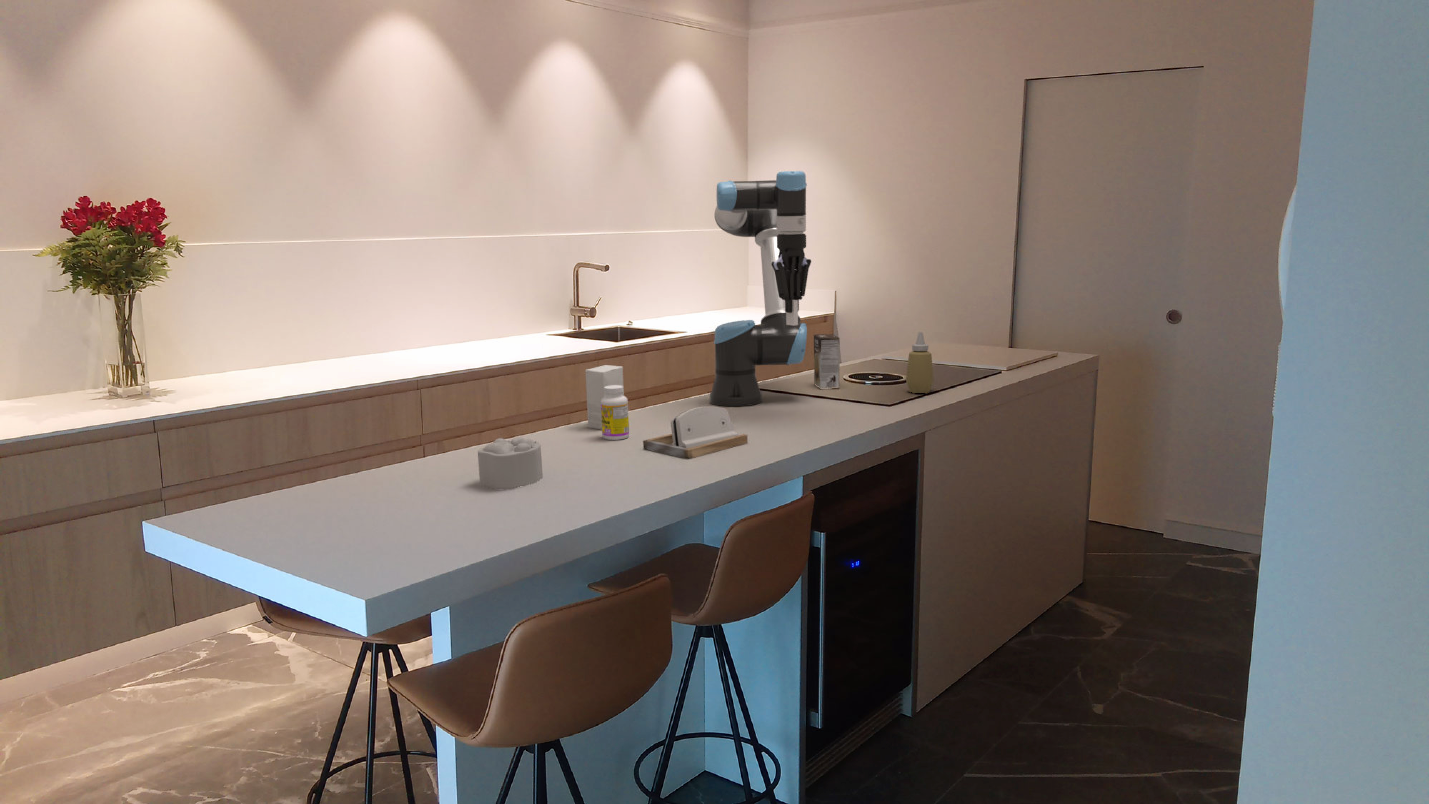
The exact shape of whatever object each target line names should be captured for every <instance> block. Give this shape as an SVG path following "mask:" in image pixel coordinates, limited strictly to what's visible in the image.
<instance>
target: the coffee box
mask: <svg viewBox="0 0 1429 804" xmlns="http://www.w3.org/2000/svg"><path fill="white" fill-rule="evenodd" d="M840 340H841V339H840V337H839V336H838V335H837V336H836V335H835V334H834V333H831V334H827V333H825V334H824V333H823V334H822V333H819V334H817V333H816V334H813V370H814V372H813V377H814V378H813V379H814V383H815V384H816V385H817V386H819V387H820V388H827V387H828V388H832V387H839V388H840V369H841V367H840V357H841V356H840V355H841V353H840V352H841V351H840V348H841V347H840V342H841V341H840ZM817 386H816V387H817Z"/></svg>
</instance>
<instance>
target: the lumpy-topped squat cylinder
mask: <svg viewBox="0 0 1429 804" xmlns="http://www.w3.org/2000/svg"><path fill="white" fill-rule="evenodd" d="M477 459H478V461H477V462H478V475H479V485H480V487H481V486H482V487H486V486H488V488H491V487H492V488H491V489H493V488H494V490H496V489H504V490H503V491H505V489H509V490H514V489H518V487H519V488H521V487H520V486H523V487H527V486H529V484H530V485H533V484H535V483H536V484H537V483H538V482H539V481H541V480H542V479H543V478H544V477H543V463H542V462H543V460H542V447H541V443H540V442H539V441H537V440H532V439H530V438H524V437H522V436H521V437H519V436H518V437H513V439H511V440H507V439H505V438H501V437H499V438H497V439H495V440H494V441H493V443H489V444H486V445H485V446H484V447H482V448H480V449H478V450H477ZM540 479H541V480H540ZM537 481H538V482H537ZM526 485H527V486H526Z"/></svg>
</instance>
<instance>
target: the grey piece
mask: <svg viewBox="0 0 1429 804" xmlns="http://www.w3.org/2000/svg"><path fill="white" fill-rule="evenodd" d="M670 428H671V429H670V430H671V434H672V438H673V443H672V445H674V446H678V447H683V448H688V449H689V448H693V447H696V446H700V445H704V444H708V443H712V442H716V441H719V440H723V439H727V438H731V437H735V436H739V434H738V432H737V431H736V430H735V429H734V426H733V423H732V420H731V418H730V414H729V413H728V410H727V409H726V408H724V407H720V406H698V407H694V408H691V409H689V410H686V411H684V412H681V413H679V414H678V415H677V416H675V417H674V418H672V419H671V420H670Z"/></svg>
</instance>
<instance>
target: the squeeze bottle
mask: <svg viewBox="0 0 1429 804" xmlns="http://www.w3.org/2000/svg"><path fill="white" fill-rule="evenodd" d="M915 342H916V343H915V344H912V345H911V347H912V348H911V349H912V351H910V352H909V353H908V358H907V359H908V360H907V366H906V367H907V368H906V369H907V370H906V377H905V381H906V385H907V389H908V391H909V393H911V392H912V394H915V393H925V394H929V393H930V392H931V389H932V386H933V384H934V381H935V380H934V379H935V378H934V370H933V369H934V368H933V367H934V366H933V358H932V353H931V352H930V351H929V344H927V343H926V344H925V339H924V333H923V332H918V334H917V337H916V341H915Z"/></svg>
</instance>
